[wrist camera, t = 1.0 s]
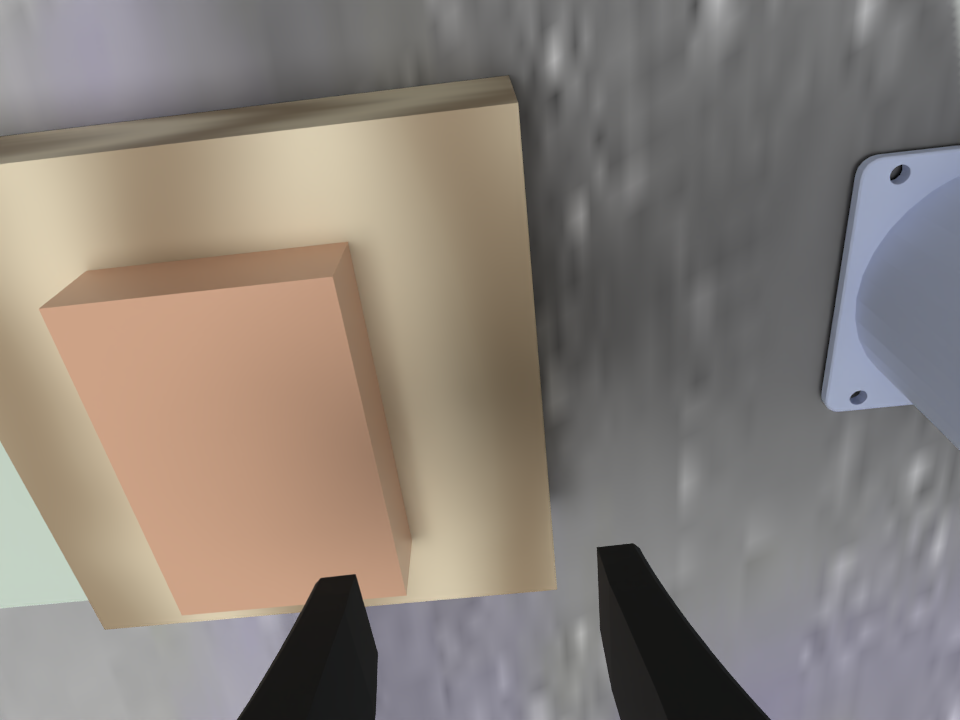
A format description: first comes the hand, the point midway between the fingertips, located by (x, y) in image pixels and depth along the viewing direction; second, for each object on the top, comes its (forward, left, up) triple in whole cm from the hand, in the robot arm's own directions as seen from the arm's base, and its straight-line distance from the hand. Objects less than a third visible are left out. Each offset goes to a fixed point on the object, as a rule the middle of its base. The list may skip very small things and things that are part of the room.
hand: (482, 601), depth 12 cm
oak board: (+5, 0, -10) cm, 12 cm away
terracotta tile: (+5, 0, -6) cm, 8 cm away
